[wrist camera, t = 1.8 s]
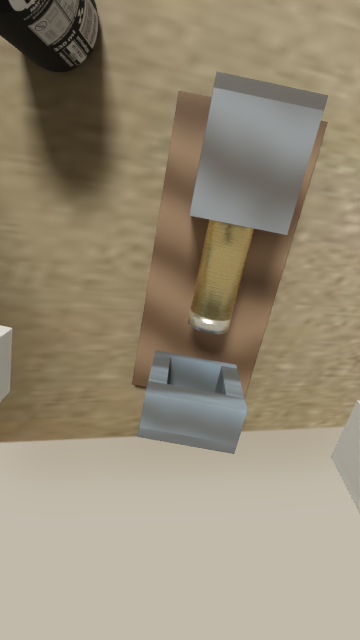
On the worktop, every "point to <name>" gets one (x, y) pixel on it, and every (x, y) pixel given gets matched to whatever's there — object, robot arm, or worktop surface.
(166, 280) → the rig
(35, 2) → the beverage can
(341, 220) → the worktop surface
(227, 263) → the tube
